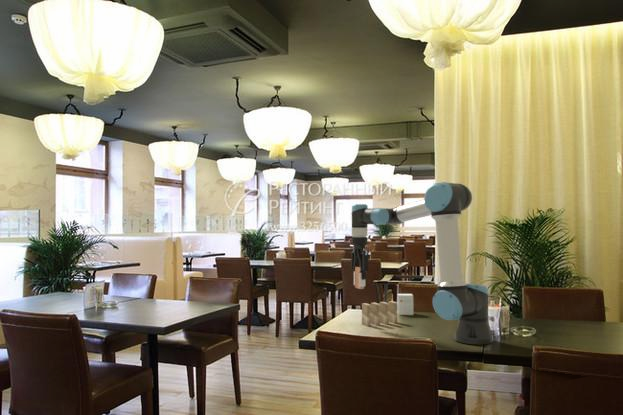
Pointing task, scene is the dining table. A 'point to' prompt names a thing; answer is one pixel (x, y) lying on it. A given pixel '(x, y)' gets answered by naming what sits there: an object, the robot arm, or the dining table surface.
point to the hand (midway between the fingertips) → (359, 285)
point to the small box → (405, 304)
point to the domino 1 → (357, 278)
